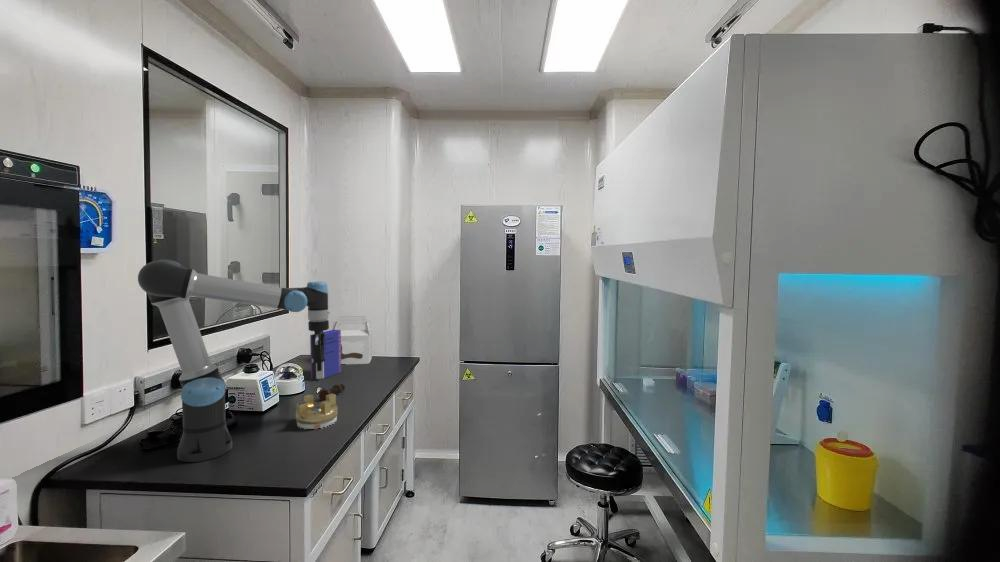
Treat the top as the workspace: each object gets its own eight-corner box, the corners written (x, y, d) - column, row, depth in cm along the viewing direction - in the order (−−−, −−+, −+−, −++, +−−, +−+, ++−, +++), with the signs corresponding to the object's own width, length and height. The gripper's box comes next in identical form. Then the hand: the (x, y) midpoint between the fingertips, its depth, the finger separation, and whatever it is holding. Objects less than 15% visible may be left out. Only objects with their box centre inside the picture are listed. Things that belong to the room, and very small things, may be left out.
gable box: (372, 358, 272) (371, 314, 270) (369, 363, 259) (369, 317, 257) (335, 359, 268) (334, 315, 266) (330, 365, 255) (330, 318, 253)
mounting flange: (311, 432, 158) (311, 427, 158) (289, 424, 166) (289, 418, 166) (344, 420, 170) (344, 415, 170) (322, 412, 178) (322, 408, 178)
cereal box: (334, 371, 241) (333, 329, 240) (341, 372, 239) (340, 329, 238) (311, 380, 225) (310, 334, 223) (318, 381, 223) (317, 335, 222)
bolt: (343, 394, 208) (325, 404, 193) (335, 388, 208) (316, 397, 194) (349, 384, 207) (331, 393, 192) (341, 379, 208) (322, 387, 193)
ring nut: (310, 427, 158) (310, 408, 157) (287, 418, 166) (287, 400, 166) (345, 414, 170) (345, 397, 170) (322, 407, 179) (322, 390, 178)
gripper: (325, 322, 166) (327, 382, 168) (330, 317, 179) (332, 373, 181) (305, 323, 165) (306, 383, 166) (311, 318, 177) (313, 374, 179)
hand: (320, 377), depth 173 cm, fingers closed
